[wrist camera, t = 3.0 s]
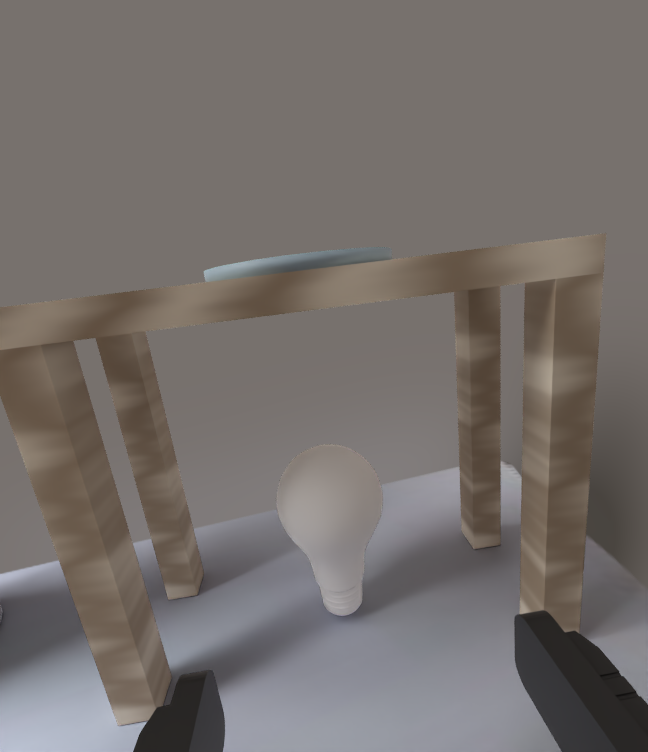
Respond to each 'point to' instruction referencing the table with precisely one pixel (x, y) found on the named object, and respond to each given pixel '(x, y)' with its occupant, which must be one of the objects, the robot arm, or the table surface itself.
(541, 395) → the stool
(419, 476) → the table surface
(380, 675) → the table surface
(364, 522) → the lightbulb
